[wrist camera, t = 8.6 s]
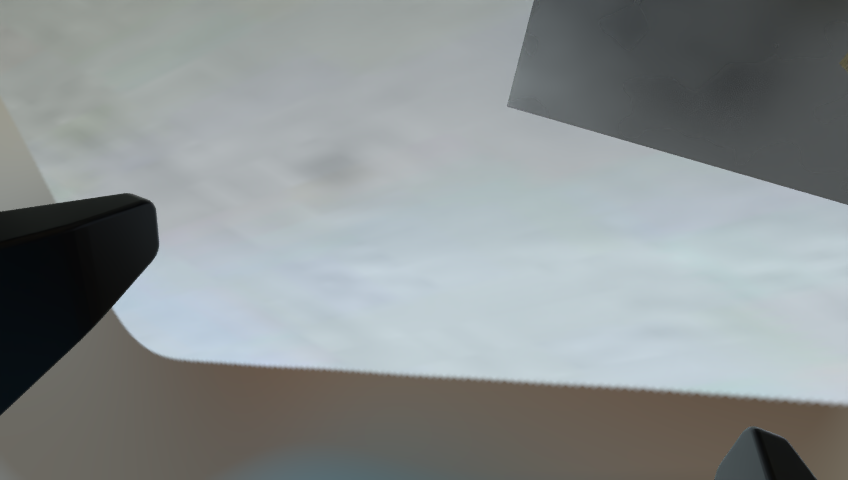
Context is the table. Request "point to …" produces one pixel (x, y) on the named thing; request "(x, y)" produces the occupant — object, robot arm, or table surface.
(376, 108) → the table surface
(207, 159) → the table surface
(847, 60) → the brass lock knob
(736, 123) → the lock base
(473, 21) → the table surface
